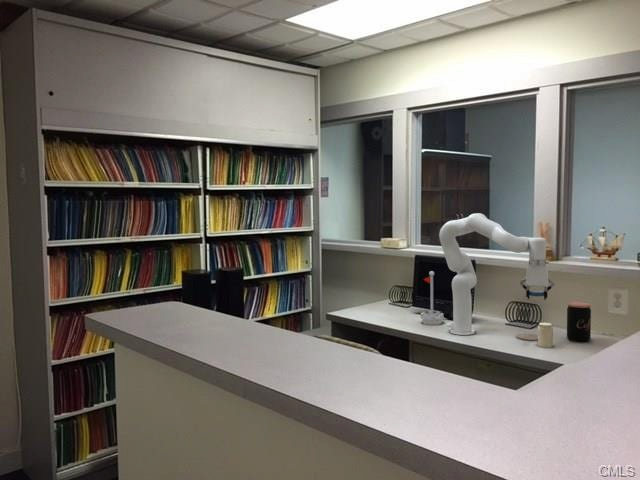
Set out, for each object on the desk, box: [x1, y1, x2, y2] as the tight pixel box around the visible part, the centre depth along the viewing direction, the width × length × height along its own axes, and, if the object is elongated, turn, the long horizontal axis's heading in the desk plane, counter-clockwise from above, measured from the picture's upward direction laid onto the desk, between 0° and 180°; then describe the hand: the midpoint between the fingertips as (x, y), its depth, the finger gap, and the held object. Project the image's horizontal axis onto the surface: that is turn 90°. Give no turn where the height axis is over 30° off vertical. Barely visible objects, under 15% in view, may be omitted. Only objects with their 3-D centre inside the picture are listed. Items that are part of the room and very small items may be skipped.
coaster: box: [516, 333, 538, 342], centre depth 272 cm, size 11×11×1 cm
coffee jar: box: [566, 301, 592, 343], centre depth 266 cm, size 11×11×18 cm
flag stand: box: [420, 270, 445, 326], centre depth 309 cm, size 13×13×30 cm
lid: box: [529, 289, 545, 297], centre depth 263 cm, size 7×7×2 cm
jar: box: [537, 322, 554, 348], centre depth 257 cm, size 7×7×11 cm
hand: (536, 298), depth 264 cm, fingers closed on lid, 6 cm apart
